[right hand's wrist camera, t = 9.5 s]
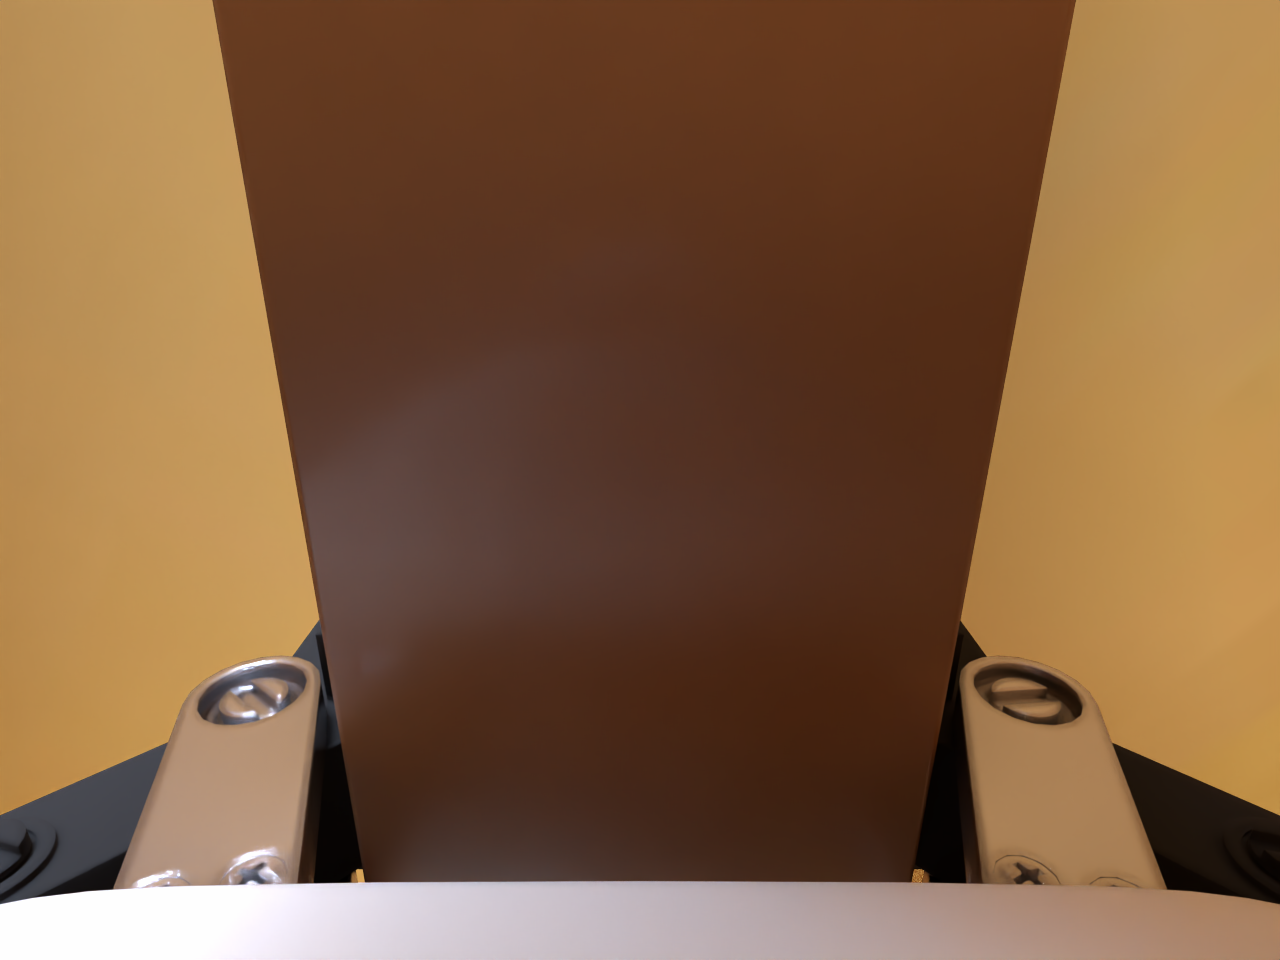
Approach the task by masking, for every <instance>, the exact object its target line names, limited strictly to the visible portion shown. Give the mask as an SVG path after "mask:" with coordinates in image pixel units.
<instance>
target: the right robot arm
mask: <svg viewBox="0 0 1280 960" xmlns="http://www.w3.org/2000/svg"><path fill="white" fill-rule="evenodd" d="M357 869H363V867H362V862H361V856H360V850H359V844H358V839H357V833H356V827H355V821H354V815H353V810H352V804H351V798H350V792H349V787H348V781H347V775H346V769H345V763H344V758H343V752H342V746H341V740H340V734H339V729H338V723H337V717H336V711H335V706H334V700H333V694H332V688H331V682H330V677H329V671H328V665H327V659H326V653H325V648H324V642H323V636H322V630H321V625H320V620H319V621H318V622H317V624H316V625H315V626H314V628H313V629H312V631H311V632H310V633H309V635H308V636H307V637H306V639H305V640H304V641H303V643H302V644H301V646H300V647H299V648H298V650H297V651H296V652H295V654H294V655H293V657H289V656H272V657H261V658H257V659H253V660H249V661H244V662H241V663H238V664H236V665H233V666H231V667H228V668H225V669H223V670H221V671H219V672H217V673H216V674H214V675H212V676H210V677H209V678H207V679H205V680H204V681H203V682H201V683H200V684H199V685H198V686H197V687H196V688H195V689H193V690H192V691H191V692H190V694H189V695H188V697H187V698H186V700H185V701H184V703H183V705H182V707H181V710H180V712H179V715H178V718H177V720H176V723H175V726H174V728H173V731H172V734H171V736H170V739H169V742H168V743H165V744H163V745H161V746H159V747H156V748H154V749H152V750H149V751H147V752H145V753H143V754H140V755H138V756H136V757H133V758H131V759H129V760H126V761H124V762H122V763H120V764H117V765H115V766H113V767H110V768H108V769H106V770H104V771H101V772H99V773H97V774H94V775H92V776H90V777H87V778H85V779H83V780H81V781H78V782H76V783H74V784H71V785H69V786H67V787H64V788H62V789H60V790H58V791H55V792H53V793H51V794H48V795H46V796H44V797H42V798H39V799H37V800H35V801H32V802H30V803H28V804H25V805H23V806H21V807H19V808H16V809H14V810H12V811H9V812H7V813H5V814H3V815H0V960H1280V816H1279V815H1277V814H1275V813H1272V812H1270V811H1268V810H1265V809H1263V808H1261V807H1259V806H1256V805H1254V804H1252V803H1249V802H1247V801H1245V800H1243V799H1240V798H1238V797H1236V796H1233V795H1231V794H1229V793H1226V792H1224V791H1222V790H1220V789H1217V788H1215V787H1213V786H1210V785H1208V784H1206V783H1203V782H1201V781H1199V780H1197V779H1194V778H1192V777H1190V776H1187V775H1185V774H1183V773H1180V772H1178V771H1176V770H1174V769H1171V768H1169V767H1167V766H1164V765H1162V764H1160V763H1157V762H1155V761H1153V760H1151V759H1148V758H1146V757H1144V756H1141V755H1139V754H1137V753H1135V752H1132V751H1130V750H1128V749H1125V748H1123V747H1121V746H1118V745H1116V744H1114V743H1112V742H1111V739H1110V736H1109V734H1108V731H1107V728H1106V726H1105V723H1104V720H1103V718H1102V715H1101V712H1100V710H1099V707H1098V705H1097V703H1096V701H1095V700H1094V698H1093V697H1092V695H1091V693H1090V692H1089V691H1088V690H1087V689H1085V688H1084V687H1083V686H1082V685H1081V684H1080V683H1079V682H1077V681H1076V680H1075V679H1073V678H1071V677H1070V676H1068V675H1066V674H1064V673H1063V672H1061V671H1059V670H1057V669H1055V668H1052V667H1049V666H1047V665H1044V664H1042V663H1039V662H1036V661H1031V660H1027V659H1023V658H1019V657H1008V656H991V657H987V656H986V655H985V654H984V652H983V651H982V650H981V648H980V647H979V645H978V644H977V643H976V641H975V640H974V639H973V637H972V636H971V635H970V633H969V632H968V630H967V629H966V628H965V626H964V625H963V624H962V622H961V621H960V624H959V630H958V635H957V640H956V646H955V651H954V656H953V662H952V667H951V672H950V678H949V683H948V689H947V694H946V699H945V705H944V710H943V715H942V721H941V726H940V731H939V737H938V742H937V748H936V753H935V758H934V764H933V769H932V774H931V780H930V785H929V790H928V796H927V801H926V807H925V812H924V817H923V823H922V828H921V833H920V839H919V844H918V849H917V855H916V860H915V866H914V869H922V870H924V875H923V880H922V883H909V882H715V881H565V882H371V883H358V880H357V875H356V870H357Z"/></svg>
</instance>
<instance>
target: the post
mask: <svg viewBox="0 0 1280 960" xmlns="http://www.w3.org/2000/svg"><path fill="white" fill-rule="evenodd" d="M1075 2H1076V0H213V6H214V12H215V17H216V23H217V29H218V35H219V40H220V46H221V52H222V58H223V64H224V69H225V75H226V81H227V87H228V92H229V98H230V104H231V110H232V116H233V121H234V127H235V133H236V139H237V145H238V150H239V156H240V162H241V168H242V173H243V179H244V185H245V191H246V197H247V202H248V208H249V214H250V220H251V225H252V231H253V237H254V243H255V249H256V254H257V260H258V266H259V272H260V278H261V283H262V289H263V295H264V301H265V306H266V312H267V318H268V324H269V330H270V335H271V341H272V347H273V353H274V359H275V364H276V370H277V376H278V382H279V387H280V393H281V399H282V405H283V411H284V416H285V422H286V428H287V434H288V439H289V445H290V451H291V457H292V463H293V468H294V474H295V480H296V486H297V492H298V497H299V503H300V509H301V515H302V520H303V526H304V532H305V538H306V544H307V549H308V555H309V561H310V567H311V573H312V578H313V584H314V590H315V596H316V601H317V607H318V613H319V619H320V625H321V630H322V636H323V642H324V648H325V653H326V659H327V665H328V671H329V677H330V682H331V688H332V694H333V700H334V706H335V711H336V717H337V723H338V729H339V734H340V740H341V746H342V752H343V758H344V763H345V769H346V775H347V781H348V787H349V792H350V798H351V804H352V810H353V815H354V821H355V827H356V833H357V839H358V844H359V850H360V856H361V862H362V867H363V873H364V879H365V883H371V882H565V881H715V882H909V883H911V882H912V876H913V871H914V866H915V860H916V855H917V849H918V844H919V839H920V833H921V828H922V823H923V817H924V812H925V807H926V801H927V796H928V790H929V785H930V780H931V774H932V769H933V764H934V758H935V753H936V748H937V742H938V737H939V731H940V726H941V721H942V715H943V710H944V705H945V699H946V694H947V689H948V683H949V678H950V672H951V667H952V662H953V656H954V651H955V646H956V640H957V635H958V630H959V624H960V619H961V613H962V608H963V603H964V597H965V592H966V587H967V581H968V576H969V570H970V565H971V560H972V554H973V549H974V544H975V538H976V533H977V528H978V522H979V517H980V511H981V506H982V501H983V495H984V490H985V485H986V479H987V474H988V469H989V463H990V458H991V452H992V447H993V442H994V436H995V431H996V426H997V420H998V415H999V410H1000V404H1001V399H1002V393H1003V388H1004V383H1005V377H1006V372H1007V367H1008V361H1009V356H1010V350H1011V345H1012V340H1013V334H1014V329H1015V324H1016V318H1017V313H1018V308H1019V302H1020V297H1021V291H1022V286H1023V281H1024V275H1025V270H1026V265H1027V259H1028V254H1029V249H1030V243H1031V238H1032V232H1033V227H1034V222H1035V216H1036V211H1037V206H1038V200H1039V195H1040V190H1041V184H1042V179H1043V173H1044V168H1045V163H1046V157H1047V152H1048V147H1049V141H1050V136H1051V130H1052V125H1053V120H1054V114H1055V109H1056V104H1057V98H1058V93H1059V88H1060V82H1061V77H1062V71H1063V66H1064V61H1065V55H1066V50H1067V45H1068V39H1069V34H1070V29H1071V23H1072V18H1073V12H1074V7H1075Z"/></svg>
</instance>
